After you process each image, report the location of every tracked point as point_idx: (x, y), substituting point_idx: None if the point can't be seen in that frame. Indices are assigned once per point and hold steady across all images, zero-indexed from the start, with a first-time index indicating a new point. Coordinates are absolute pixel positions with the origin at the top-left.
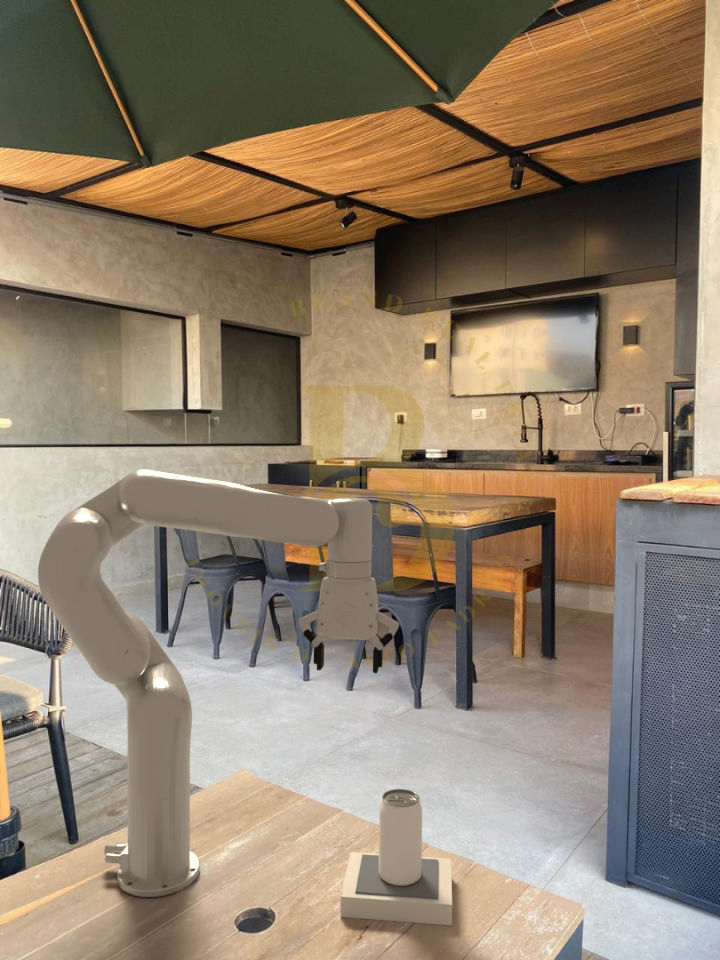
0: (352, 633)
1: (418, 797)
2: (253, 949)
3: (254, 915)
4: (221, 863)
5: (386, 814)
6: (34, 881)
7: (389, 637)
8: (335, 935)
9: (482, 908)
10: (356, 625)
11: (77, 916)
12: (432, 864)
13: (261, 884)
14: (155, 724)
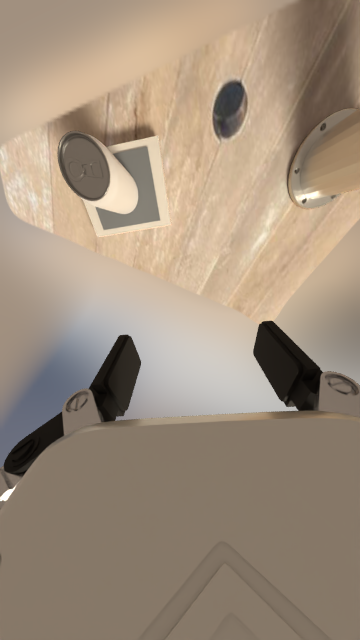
0: (165, 461)
1: (64, 177)
2: (222, 42)
3: (231, 119)
4: (270, 205)
5: (98, 140)
6: None
7: (20, 450)
8: (156, 107)
9: (67, 198)
10: (112, 589)
11: None
12: (104, 220)
13: (233, 180)
14: None
